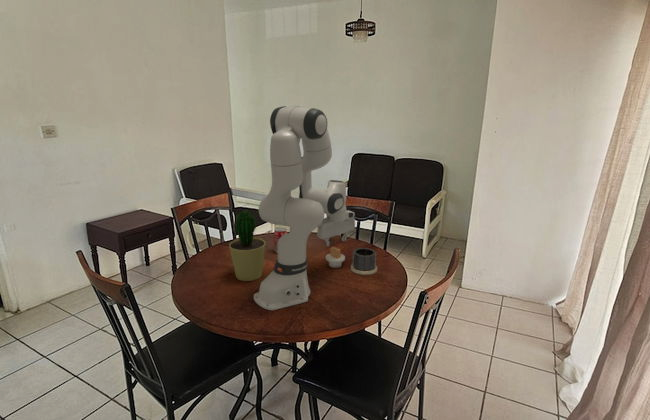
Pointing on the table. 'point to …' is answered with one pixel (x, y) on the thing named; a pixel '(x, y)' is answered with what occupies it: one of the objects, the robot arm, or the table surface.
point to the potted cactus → (247, 249)
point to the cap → (335, 257)
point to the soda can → (278, 236)
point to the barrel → (364, 261)
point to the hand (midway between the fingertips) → (336, 243)
